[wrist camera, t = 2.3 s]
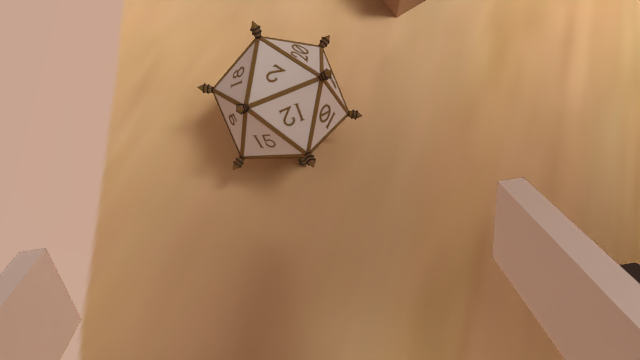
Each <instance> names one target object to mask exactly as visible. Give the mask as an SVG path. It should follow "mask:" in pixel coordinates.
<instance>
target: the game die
mask: <svg viewBox="0 0 640 360" xmlns="http://www.w3.org/2000/svg"><path fill="white" fill-rule="evenodd" d="M250 31H252V35H254V36H255V39H254V40H253V41H252V43H251V44H250V45H249V46H248V47H247V48H246V50H245V51H244V52H243V53H242V54H241V56H240V57H239V58H238V59H237V60H236V61H235V63H234V64H233V65H232V66H231V67H230V68H229V70H228V71H227V72H226V73H225V74H224V76H223V77H222V78H221V79H220V80H219V81H218V83H217V84H216V85H215V86H214V87H212V86H210V85H209V84H208V85H206V84H205V83H204V85H201V86H199V87H198V88H199V89H200V90H202V91H203V93H205V92H206V93H208V94H209V93H211V92H212V93H213V94H214V96H215V99H216V101H217V103H218V106H219V108H220V110H221V113H222V115H223V117H224V120H225V122H226V124H227V127H228V129H229V131H230V134H231V136H232V138H233V141H234V143H235V145H236V147H237V150H238V152H239V154H240V156H239V158H236V161H235V162H234V166H233V170H234V169H237V168H239V167H241V165H242V164H244V163H243V161H244V159H263V158H299V161H300V163H299V164H301V165H303V166H305V167H306V164H308V165H310V166H312V167H314V163H315V160H316V159H315V158H314V155H311V153H312V152H313V151H314V150H315V149H316V148H317V147H318V146H319V145H320V144H321V143H322V142H323V141H324V140H325V139H326V138H327V137H328V136H329V134H330V133H331V132H332V131H333V130H334V129H335V128H336V127H337V126H338V125H339V124H340V123H341V122H342V121H343V120H344V119H345V118H346V117H347V116H349V117H351V119H352V118H354V119H355V120H356V119H357V118H359V117H361V116H362V115H361V114H360V113H359V112H358V111H354V110H352V111H348V108H347V106H346V104H345V101H344V99H343V96H342V94H341V91H340V89H339V86H338V84H337V81H336V79H335V77H334V74H333V72H332V69H331V67H330V64H329V62H328V59H327V57H326V54H325V52H324V50H323V48H324V47H326V46H327V44H329V37H330V35H328V36H326V37H322V39H321V40H320V44H319V45H312V44H306V43H300V42H294V41H287V40H281V39H275V38H269V37H262V36H261V30H260V26H258V25H257V24H256V23H254V22H253V21H252V26H251V29H250Z"/></svg>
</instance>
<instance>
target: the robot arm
mask: <svg viewBox="0 0 640 360" xmlns="http://www.w3.org/2000/svg"><path fill="white" fill-rule="evenodd" d="M492 257H493V259H494V260H495V261H496V263H497V264H498V266H499V267H500V269H501V270H502V271H503V273H504V274H505V276H506V277H507V278H508V280H509V281H510V283H511V284H512V286H513V287H514V288H515V290H516V291H517V293H518V294H519V295H520V297H521V298H522V300H523V301H524V303H525V304H526V305H527V307H528V308H529V310H530V311H531V313H532V314H533V315H534V317H535V318H536V320H537V321H538V322H539V324H540V325H541V327H542V328H543V330H544V331H545V332H546V334H547V335H548V337H549V338H550V339H551V341H552V342H553V344H554V345H555V347H556V348H557V349H558V351H559V352H560V354H561V355H562V356H563V358H564V359H565V360H640V265H639V264H637V263H630V264H624V265H619V264H617V263H616V262H615V261H614V260H613V259H612V258H611V257H610V256H609V255H608V254H607V253H605V252H604V251H603V250H602V249H601V248H600V247H599V246H598V245H597V244H596V243H595V242H593V241H592V240H591V239H590V238H589V237H588V236H587V235H586V234H585V233H584V232H583V231H581V230H580V229H579V228H578V227H577V226H576V225H575V224H574V223H573V222H572V221H571V220H569V219H568V218H567V217H566V216H565V215H564V214H563V213H562V212H561V211H560V210H559V209H557V208H556V207H555V206H554V205H553V204H552V203H551V202H550V201H549V200H548V199H547V198H546V197H544V196H543V195H542V194H541V193H540V192H539V191H538V190H537V189H536V188H535V187H534V186H532V185H531V184H530V183H529V182H528V181H527V180H526V179H525V178H524V177H522V178H516V179H509V180H502V181H498V185H497V199H496V212H495V226H494V240H493V254H492ZM80 321H81V318H80V316H79V314H78V312H77V310H76V308H75V306H74V304H73V302H72V300H71V298H70V296H69V294H68V291H67V289H66V287H65V285H64V283H63V281H62V279H61V277H60V275H59V274H58V271H57V269H56V267H55V265H54V263H53V261H52V259H51V257H50V255H49V253H48V251H47V249H46V248H44V249H37V250H30V251H24V252H19V253H18V254H17V255H16V257H15V258H14V259H13V260H12V261H11V262H10V263H9V265H8V266H7V267H6V268H5V269H4V271H3V272H2V273H1V274H0V360H60V359H61V357H62V355H63V353H64V351H65V349H66V347H67V346H68V344H69V342H70V340H71V338H72V336H73V334H74V332H75V330H76V328H77V327H78V325H79V323H80Z"/></svg>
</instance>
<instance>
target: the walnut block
mask: <svg viewBox="0 0 640 360" xmlns="http://www.w3.org/2000/svg"><path fill="white" fill-rule="evenodd" d="M424 1H425V0H382V2H383V3H384V4H385V5H386V6H387V7H388V9H389V10H390V11H391V12H392V13H393V14H394V16H395V17H396V18H397V17H398V16H400V15H402V14H403V13H405V12H407V11H408V10H410V9H412V8H413V7H415V6H417V5H419V4H420V3H422V2H424Z"/></svg>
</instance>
